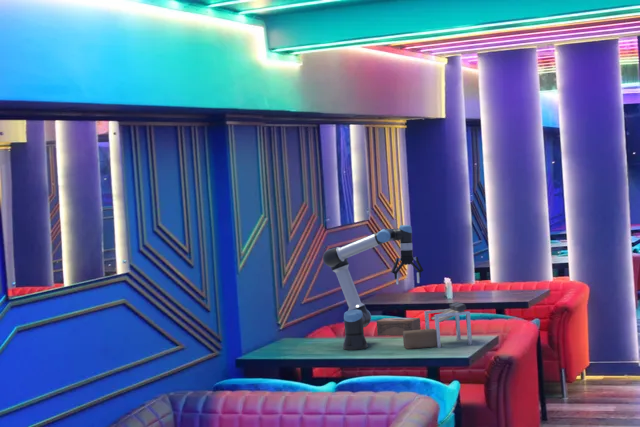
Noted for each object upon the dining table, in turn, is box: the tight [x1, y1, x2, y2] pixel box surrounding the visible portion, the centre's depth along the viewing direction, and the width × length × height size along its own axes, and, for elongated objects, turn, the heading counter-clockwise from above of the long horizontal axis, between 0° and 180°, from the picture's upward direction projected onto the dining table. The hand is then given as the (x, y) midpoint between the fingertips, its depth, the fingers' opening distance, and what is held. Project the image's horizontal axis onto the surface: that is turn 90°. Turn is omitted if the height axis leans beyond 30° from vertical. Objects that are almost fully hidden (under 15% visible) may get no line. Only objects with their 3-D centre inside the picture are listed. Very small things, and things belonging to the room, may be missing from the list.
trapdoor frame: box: [423, 308, 473, 349], centre depth 590 cm, size 22×22×20 cm
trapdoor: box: [430, 301, 467, 323], centre depth 590 cm, size 17×19×4 cm
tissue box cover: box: [376, 317, 422, 337], centre depth 645 cm, size 26×14×10 cm, turn 63°
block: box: [402, 328, 437, 350], centre depth 585 cm, size 10×10×20 cm
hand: (407, 283), depth 598 cm, fingers open, 13 cm apart
